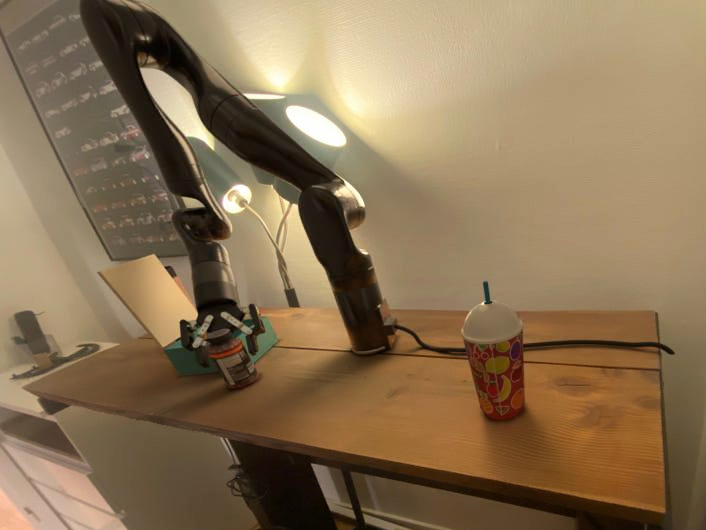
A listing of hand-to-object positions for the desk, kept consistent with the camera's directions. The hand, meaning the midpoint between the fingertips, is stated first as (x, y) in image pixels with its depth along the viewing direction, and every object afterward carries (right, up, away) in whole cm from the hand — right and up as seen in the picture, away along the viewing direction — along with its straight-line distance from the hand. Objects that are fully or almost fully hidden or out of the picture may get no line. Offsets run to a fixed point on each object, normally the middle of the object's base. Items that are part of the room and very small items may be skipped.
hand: (229, 360), depth 73 cm
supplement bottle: (0, -5, +4) cm, 6 cm away
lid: (-22, +13, +9) cm, 27 cm away
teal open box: (-10, +1, +16) cm, 19 cm away
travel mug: (-29, +5, +29) cm, 41 cm away
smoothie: (+53, -7, -16) cm, 56 cm away
